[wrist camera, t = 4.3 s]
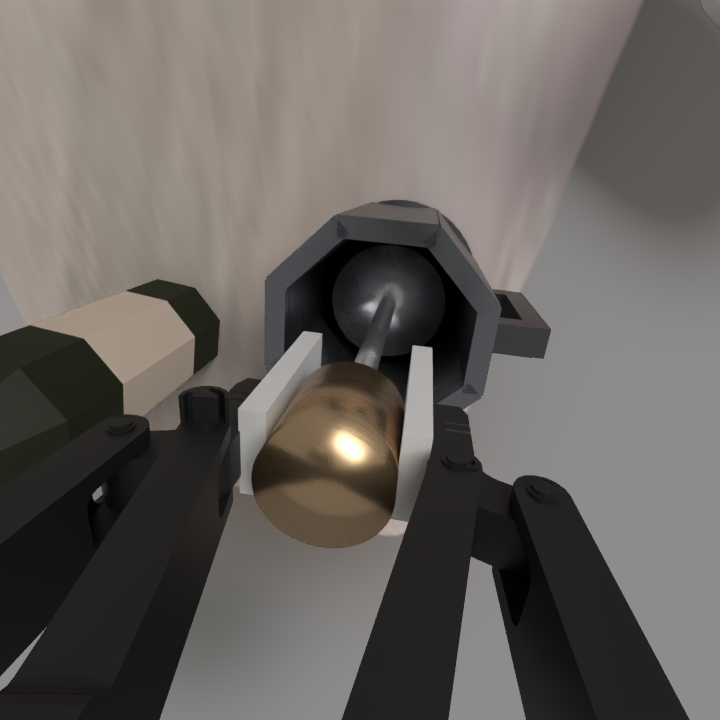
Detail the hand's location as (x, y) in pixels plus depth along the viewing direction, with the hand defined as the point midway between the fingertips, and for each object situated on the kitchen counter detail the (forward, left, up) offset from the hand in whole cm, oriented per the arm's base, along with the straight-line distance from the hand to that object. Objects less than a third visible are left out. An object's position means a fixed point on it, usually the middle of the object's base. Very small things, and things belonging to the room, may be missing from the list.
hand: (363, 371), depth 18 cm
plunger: (0, 0, -12) cm, 12 cm away
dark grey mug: (0, +1, -17) cm, 17 cm away
